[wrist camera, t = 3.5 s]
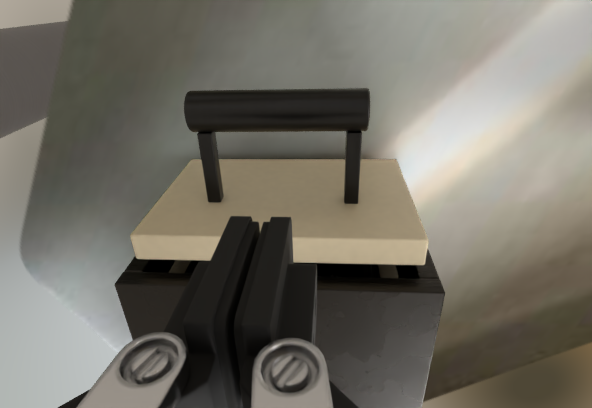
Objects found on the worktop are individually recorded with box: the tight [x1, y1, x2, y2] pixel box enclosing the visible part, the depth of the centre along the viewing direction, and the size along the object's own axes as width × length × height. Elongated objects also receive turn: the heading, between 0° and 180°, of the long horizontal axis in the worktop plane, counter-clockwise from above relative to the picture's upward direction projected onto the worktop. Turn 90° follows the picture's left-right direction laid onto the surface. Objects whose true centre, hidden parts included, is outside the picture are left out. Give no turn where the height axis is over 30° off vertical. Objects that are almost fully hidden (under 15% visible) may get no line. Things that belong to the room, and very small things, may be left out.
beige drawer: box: [130, 88, 429, 278], centre depth 20 cm, size 18×11×8 cm, turn 2°
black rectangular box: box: [115, 248, 445, 408], centre depth 22 cm, size 15×13×10 cm
